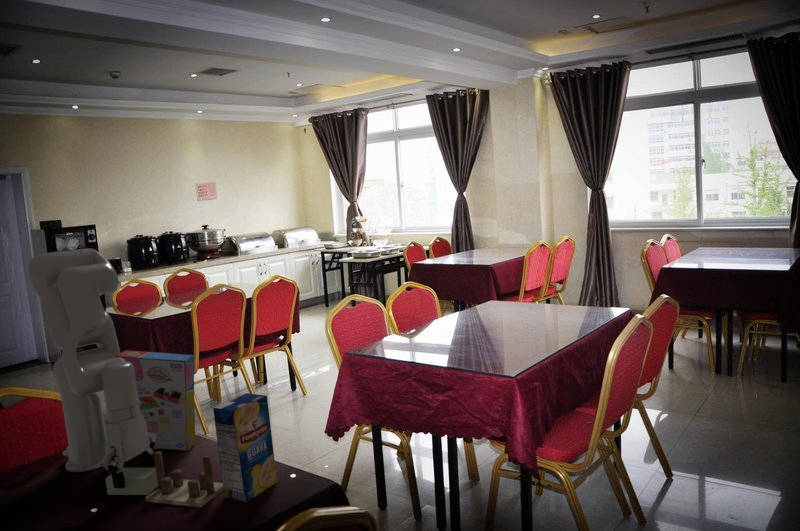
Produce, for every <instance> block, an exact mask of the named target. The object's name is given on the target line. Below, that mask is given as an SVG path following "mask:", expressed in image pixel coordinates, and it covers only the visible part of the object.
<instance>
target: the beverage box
mask: <svg viewBox="0 0 800 531" xmlns="http://www.w3.org/2000/svg"><path fill="white" fill-rule="evenodd" d="M212 409H213V410H212V411H213V418H214V425H215V426H214V427H215V433H216V434H215V435H216V440H217V449H218V450H217V451H218V457H219V464H220V465H219V466H220V473H221V479H222V482H221V483H223V489H224V490H223V495H224V498H226V499H231V500H233V501H238V502H242V503H245V502H246V503H247V502H249V501H250V500H252V499H253V498H256V497H257V496H258V495H260V494H261V493H263V492H264V491H265V490H267V489H269V488H270V487H272V486H274V485H275V484H277V483H278V479H277V469H276V461H275V460H276V459H275V453H274V452H275V451H274V444H273V443H274V442H273V435H272V428H271V427H272V426H271V425H272V424H271V419H270V410H269V401H268V395H265V394H264V395H263V394H255V393H249V392H248V393H246V392H245V393H243V394H241V395H239V396H237V397H234V398H232V399H231V400H227V401H226V402H223V403H221V404H219V405H217V406H214V407H212ZM259 493H260V494H259Z"/></svg>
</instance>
